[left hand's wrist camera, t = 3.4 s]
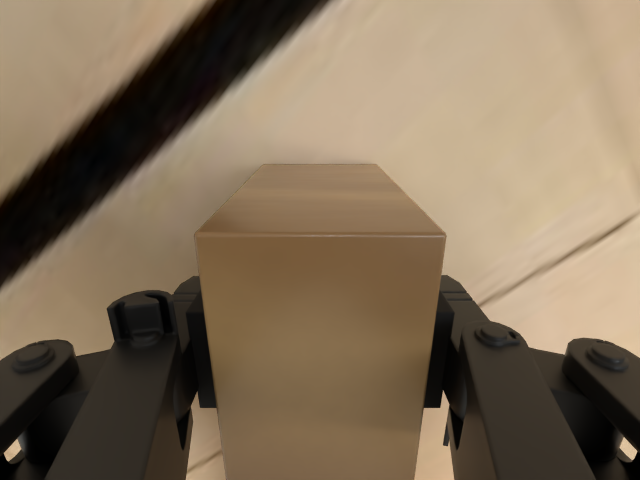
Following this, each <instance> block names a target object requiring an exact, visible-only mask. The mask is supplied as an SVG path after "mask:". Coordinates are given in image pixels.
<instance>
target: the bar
mask: <svg viewBox="0 0 640 480" xmlns="http://www.w3.org/2000/svg"><path fill="white" fill-rule="evenodd" d="M194 240H195V247H196V255H197V262H198V270H199V277H200V285H201V293H202V300H203V308H204V315H205V323H206V330H207V338H208V346H209V353H210V361H211V368H212V376H213V384H214V391H215V399H216V406H217V414H218V421H219V429H220V437H221V444H222V452H223V459H224V467H225V474H226V480H414V477H415V469H416V462H417V454H418V447H419V439H420V431H421V424H422V416H423V409H424V401H425V394H426V386H427V379H428V371H429V363H430V356H431V348H432V341H433V333H434V326H435V318H436V310H437V303H438V295H439V288H440V280H441V273H442V265H443V258H444V250H445V242H446V233H445V232H444V231H443V230H442V229H441V228H440V227H439V226H438V225H437V224H436V223H435V222H434V221H433V220H432V219H431V218H430V217H429V216H428V215H427V214H426V213H425V212H424V211H423V210H422V209H421V208H420V207H419V206H418V205H417V204H416V203H415V202H414V201H413V200H412V199H411V198H410V197H409V196H408V195H407V194H406V193H405V192H404V191H403V190H402V189H401V188H400V187H399V186H398V185H397V184H396V183H395V182H394V181H393V180H392V179H391V178H390V177H389V176H388V175H387V174H386V173H385V172H384V171H383V170H382V169H381V168H380V167H379V166H378V165H376V164H264V165H262V166H261V167H260V168H259V169H258V170H257V171H256V172H255V173H254V174H253V175H252V176H251V177H250V178H249V179H248V180H247V181H246V182H245V183H244V184H243V185H242V186H241V187H240V188H239V189H238V190H237V191H236V192H235V193H234V194H233V195H232V196H231V197H230V198H229V199H228V200H227V201H226V202H225V203H224V204H223V205H222V206H221V207H220V208H219V209H218V210H217V211H216V212H215V213H214V214H213V215H212V216H211V217H210V218H209V219H208V220H207V222H206V223H205V224H204V225H203V226H202V227H201V228H200V229H199V230H198V231H197V232H196V233H195V235H194Z"/></svg>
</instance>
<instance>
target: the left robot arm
mask: <svg viewBox="0 0 640 480" xmlns="http://www.w3.org/2000/svg"><path fill="white" fill-rule="evenodd" d="M107 312H108V316H109V320H110V324H111V328H112V332H113V337H114V341H115V342H114V344H113V346H112V348H111V349H109V350H105V351H101V352H96V353H91V354H85V355H80V356H76V355H75V352H74V348H73V345H72V344H71V343H69V342H68V341H65V340H58V339H57V340H47V341H46V340H45V341H39V342H38V343H36V342H35V343H32V344H29V345H27V346H26V347H23V348H21V349H19V350H16V351H14V352H13V353H11V354H10V355H8V356H6V357H5V358H3V359H2V360H1V361H0V480H186V473H187V465H188V457H189V450H190V442H191V434H192V426H193V417H192V411H191V404H192V402H193V400H194V397H195V395H196V393H197V391H198V398H199V404H200V408H217V406H216V399H215V391H214V384H213V376H212V368H211V361H210V353H209V346H208V338H207V330H206V323H205V315H204V308H203V300H202V293H201V285H200V277H199V276H193V277H192V278H190V279H188V280H187V281H185V282H183V283H182V284H180V286H179V287H178V288H177V290H176V291H175V292H174V295H171V294H169V293H168V292H164V291H160V290H147V291H141V292H136V293H132V294H130V295H127V296H124V297H122V298H120V299H118V300H116V301H114V302H113V303H112V304H111V305H110V306H109V307H108V308H107ZM443 390H444V393H445V395H446V397H447V399H448V402H449V404H450V405H449V411H448V417H447V423H446V429H445V435H444V442H443V445H444V446H448V443H449V441H450V449H451V456H452V464H453V472H454V480H640V358H639V357H637V356H636V355H634V354H632V353H631V352H629V351H628V350H626V349H624V348H621V347H619V346H617V345H615V344H614V343H611V342H608V341H603V340H600V339H590V338H579V339H573V340H572V341H571V342H569V343H568V346H567V349H566V353H565V355H563V354H558V353H553V352H548V351H542V350H537V349H533V348H529V347H528V345H527V343H526V341H525V340H524V339H523V337H522V336H521V335H520V334H519V333H518V332H516V331H514V330H513V329H511V328H510V327H507V326H505V325H502V324H500V323H496V322H491V321H490V320H489V319H488V318H487V317H486V315H485V314H484V313H483V312H482V310H481V309H480V308H479V307H478V305H477V304H476V303H475V302H474V301H472V298H471V297H470V295H469V294H468V293H467V291H466V290H465V289H464V288H463V286H462V285H461V284H460V283H459V282H457V281H456V280H454V279H452V278H451V277H449V276H447V275H441V280H440V288H439V295H438V303H437V310H436V318H435V326H434V333H433V341H432V348H431V356H430V363H429V371H428V379H427V386H426V394H425V401H424V408H440V406H441V399H442V393H443ZM623 437H625V438H626V439H627V440H628V441H629V443H630V444H631V445H632V446H633V447H634V448H635V449H636V450H637V451H638V452H637V454H636V456H635V459H634V460H631V459H630V458H629V457H628V456H626V455H625V454H624V452H623V451H622V450H621V449H620V448H619V447H620V445H621V442H622V440H623ZM16 439H18V441H19V444H20V446H21V450H20V452H19V453H18V454H17V455H16V456H15V457H14V458H13V459H11V460H10V461H9V462H8V461H7V460H6V458H5V456H4V452H5V451H6V450H7V449H8V448H9V447H10V446H11V445H12V443H13V442H14V441H15V440H16Z"/></svg>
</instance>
